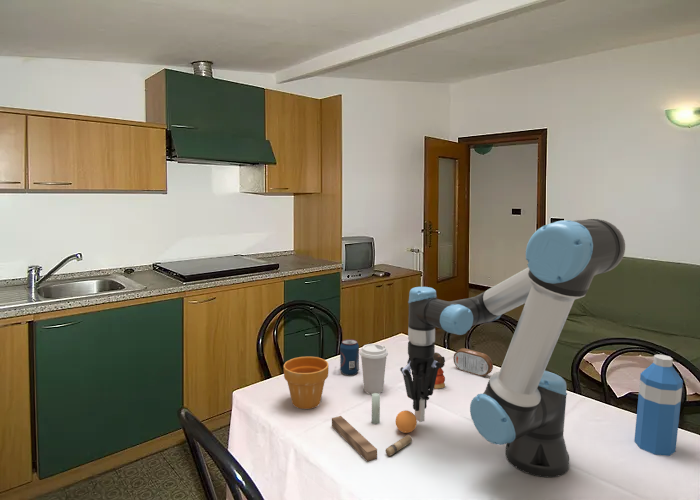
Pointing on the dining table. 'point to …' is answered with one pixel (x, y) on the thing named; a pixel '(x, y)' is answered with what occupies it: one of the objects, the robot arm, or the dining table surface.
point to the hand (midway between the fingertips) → (419, 419)
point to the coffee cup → (373, 367)
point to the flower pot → (306, 380)
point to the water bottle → (658, 407)
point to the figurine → (439, 372)
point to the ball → (406, 421)
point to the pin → (398, 445)
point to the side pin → (375, 408)
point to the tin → (473, 362)
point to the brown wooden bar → (354, 438)
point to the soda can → (349, 357)
